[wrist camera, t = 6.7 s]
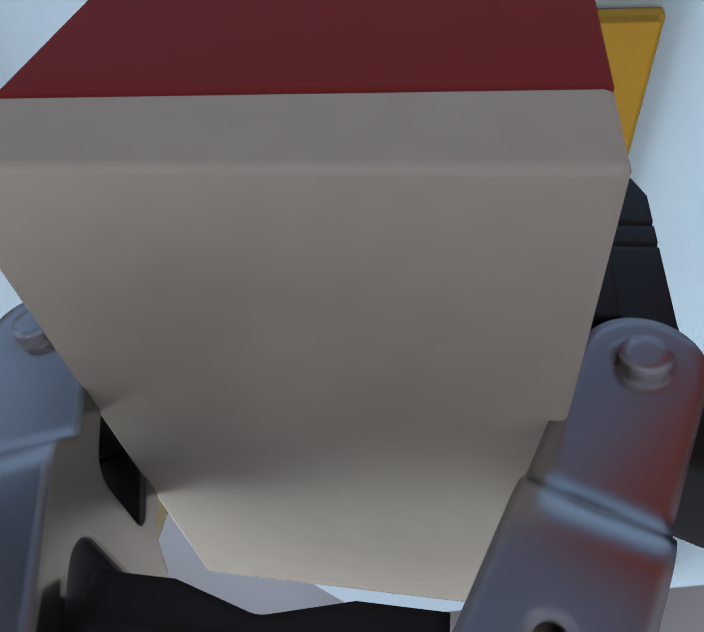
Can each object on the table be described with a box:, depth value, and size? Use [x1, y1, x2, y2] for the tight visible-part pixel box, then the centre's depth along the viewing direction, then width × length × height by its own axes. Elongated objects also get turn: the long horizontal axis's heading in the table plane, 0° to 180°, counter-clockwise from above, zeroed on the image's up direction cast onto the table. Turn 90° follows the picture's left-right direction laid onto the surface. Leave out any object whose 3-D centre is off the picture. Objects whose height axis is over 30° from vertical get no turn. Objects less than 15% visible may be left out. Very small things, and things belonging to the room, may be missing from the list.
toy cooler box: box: [0, 0, 631, 602], centre depth 9 cm, size 8×5×6 cm, turn 6°
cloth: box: [597, 8, 665, 154], centre depth 27 cm, size 12×12×1 cm
